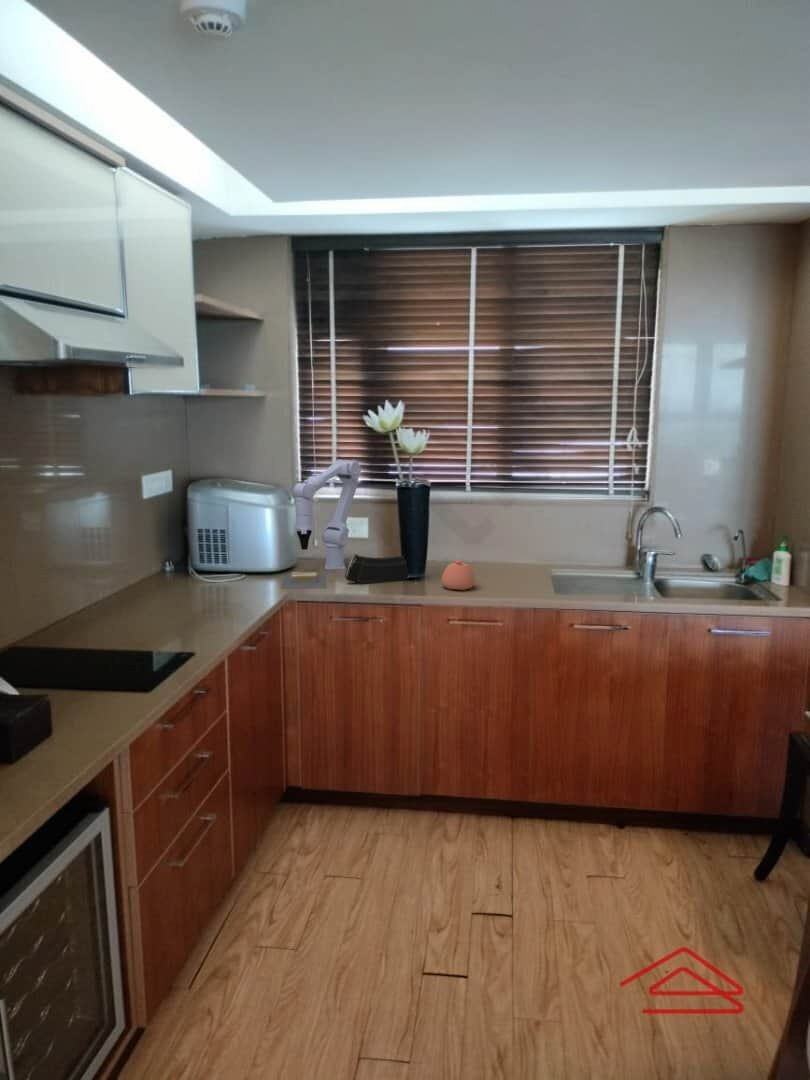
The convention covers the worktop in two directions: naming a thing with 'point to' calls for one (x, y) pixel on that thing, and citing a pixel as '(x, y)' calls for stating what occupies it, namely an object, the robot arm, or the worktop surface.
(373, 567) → the magazine
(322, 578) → the mat
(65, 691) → the worktop surface
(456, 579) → the sugar bowl
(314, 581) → the tile
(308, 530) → the robot arm
